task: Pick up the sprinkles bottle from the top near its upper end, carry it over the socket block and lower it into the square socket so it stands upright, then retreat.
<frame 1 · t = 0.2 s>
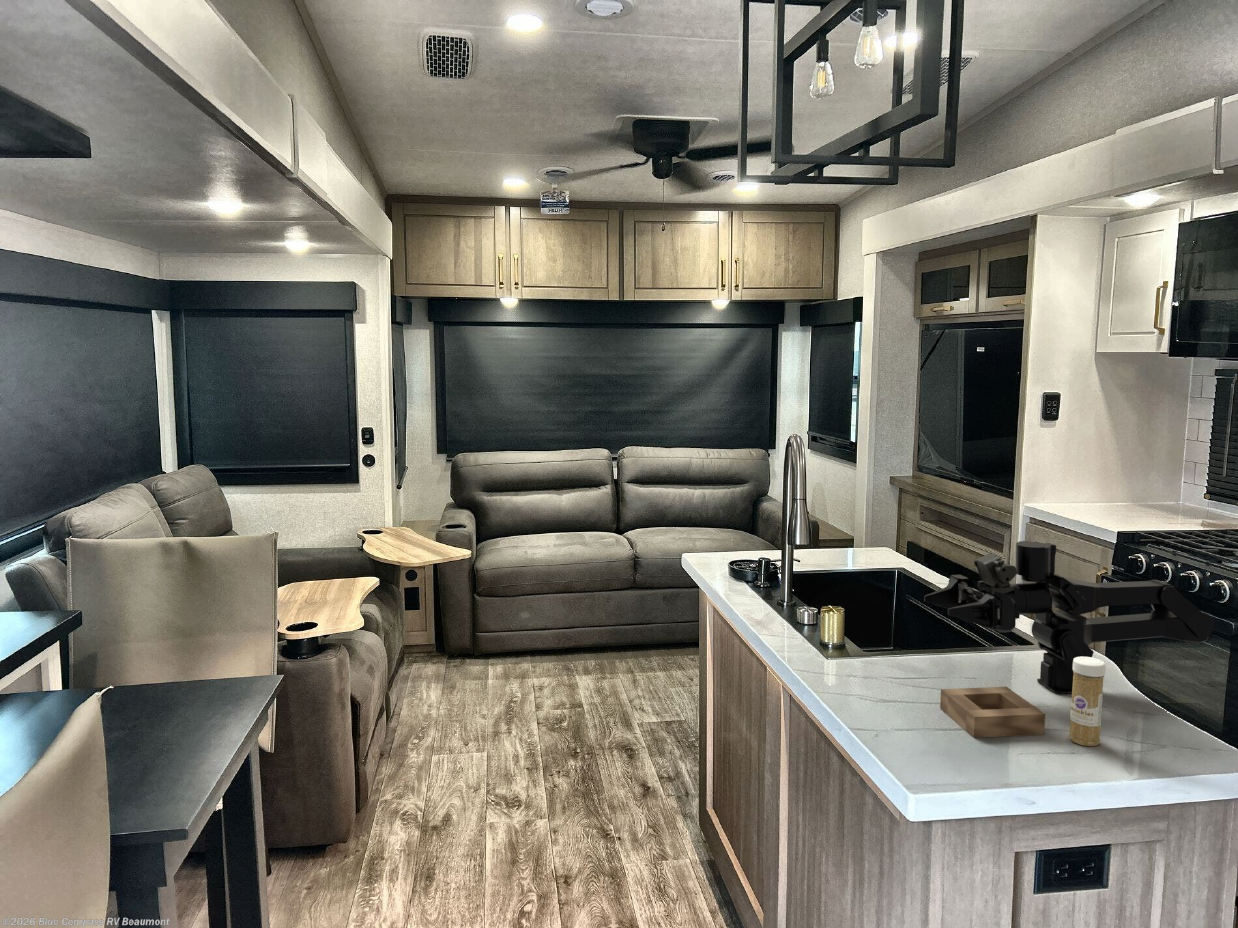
hand: (935, 605, 157), 17 cm above the counter, tool horizontal, fingers open, 9 cm apart
sprinkles bottle: (1084, 742, 139), on the counter
socket block: (990, 720, 147), on the counter
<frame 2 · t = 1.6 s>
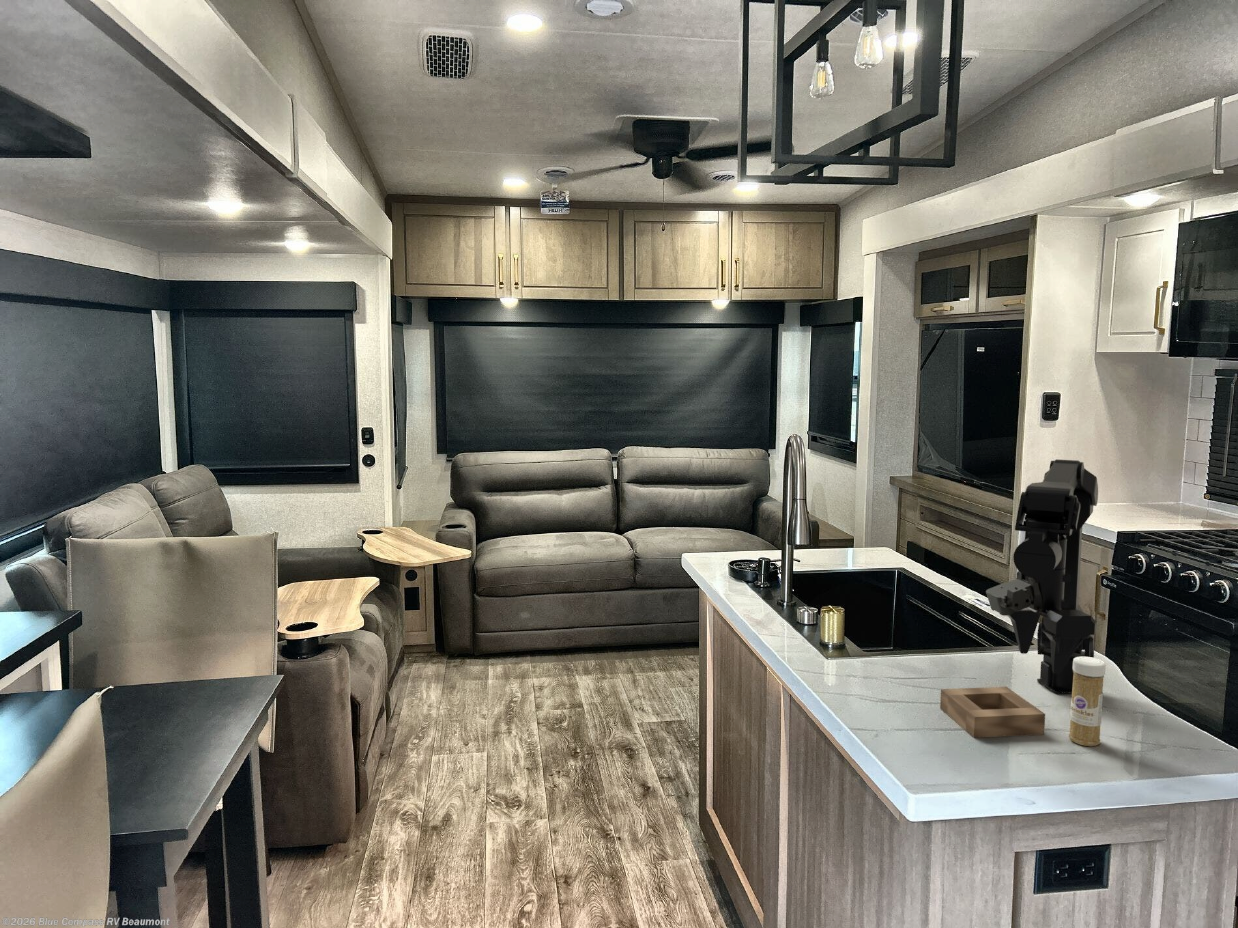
hand: (1039, 662, 137), 13 cm above the counter, tool pointing down, fingers open, 9 cm apart
nothing on the counter moved.
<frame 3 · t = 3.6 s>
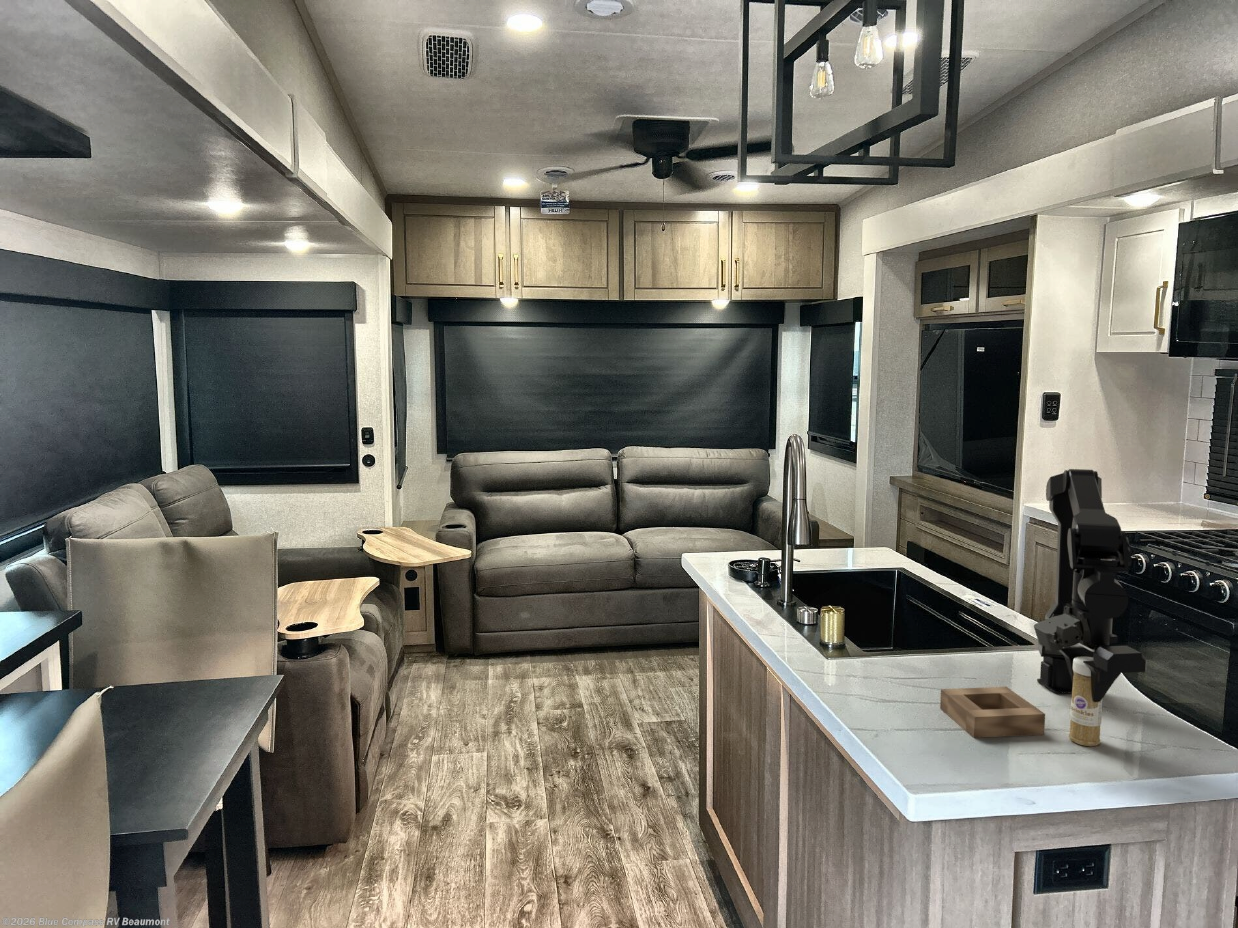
hand: (1087, 695, 138), 8 cm above the counter, tool pointing down, fingers closed on sprinkles bottle, 4 cm apart
sprinkles bottle: (1084, 742, 139), on the counter, touching gripper
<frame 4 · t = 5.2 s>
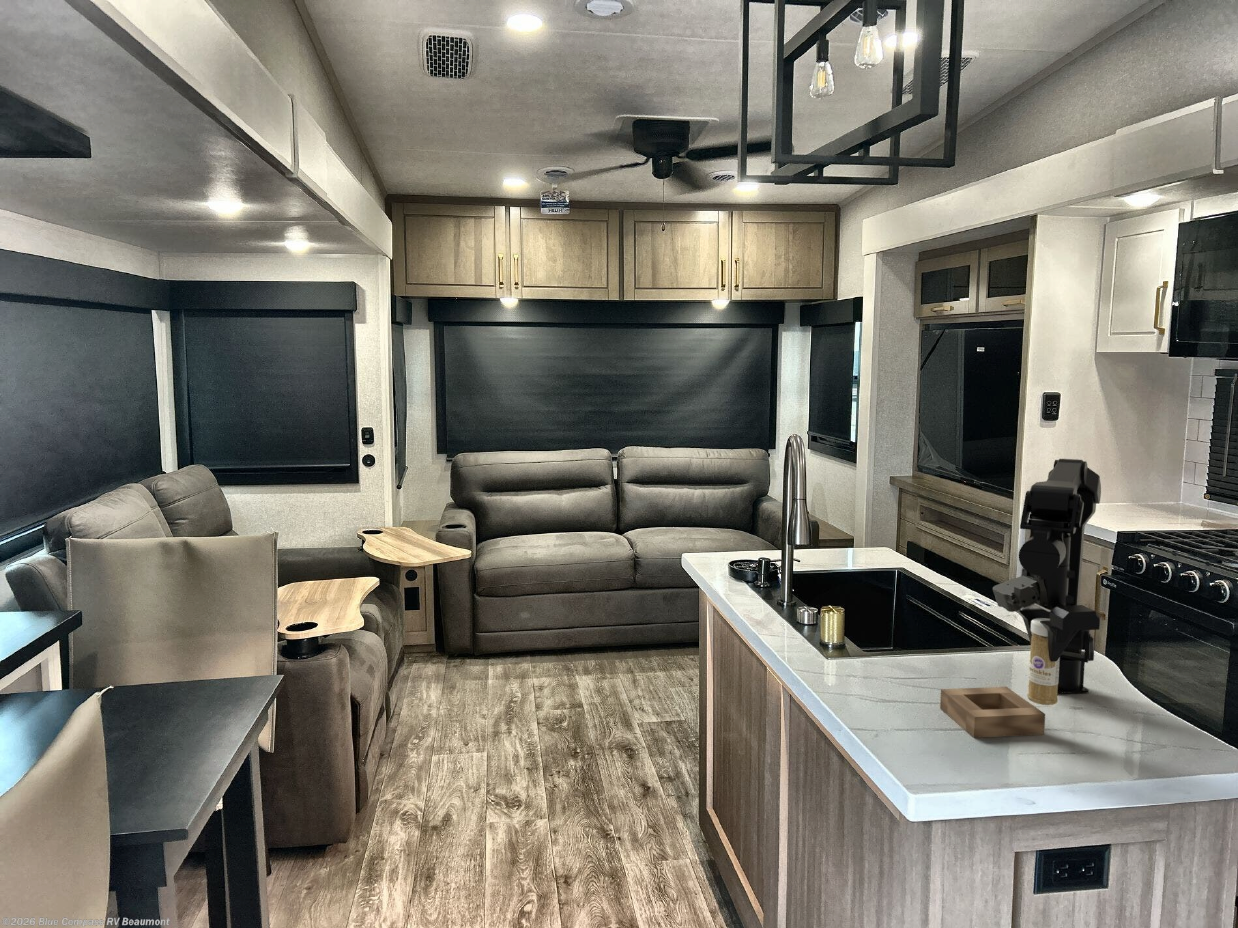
hand: (1044, 656, 141), 13 cm above the counter, tool pointing down, fingers closed on sprinkles bottle, 4 cm apart
sprinkles bottle: (1042, 701, 142), point 5 cm above the counter, touching gripper
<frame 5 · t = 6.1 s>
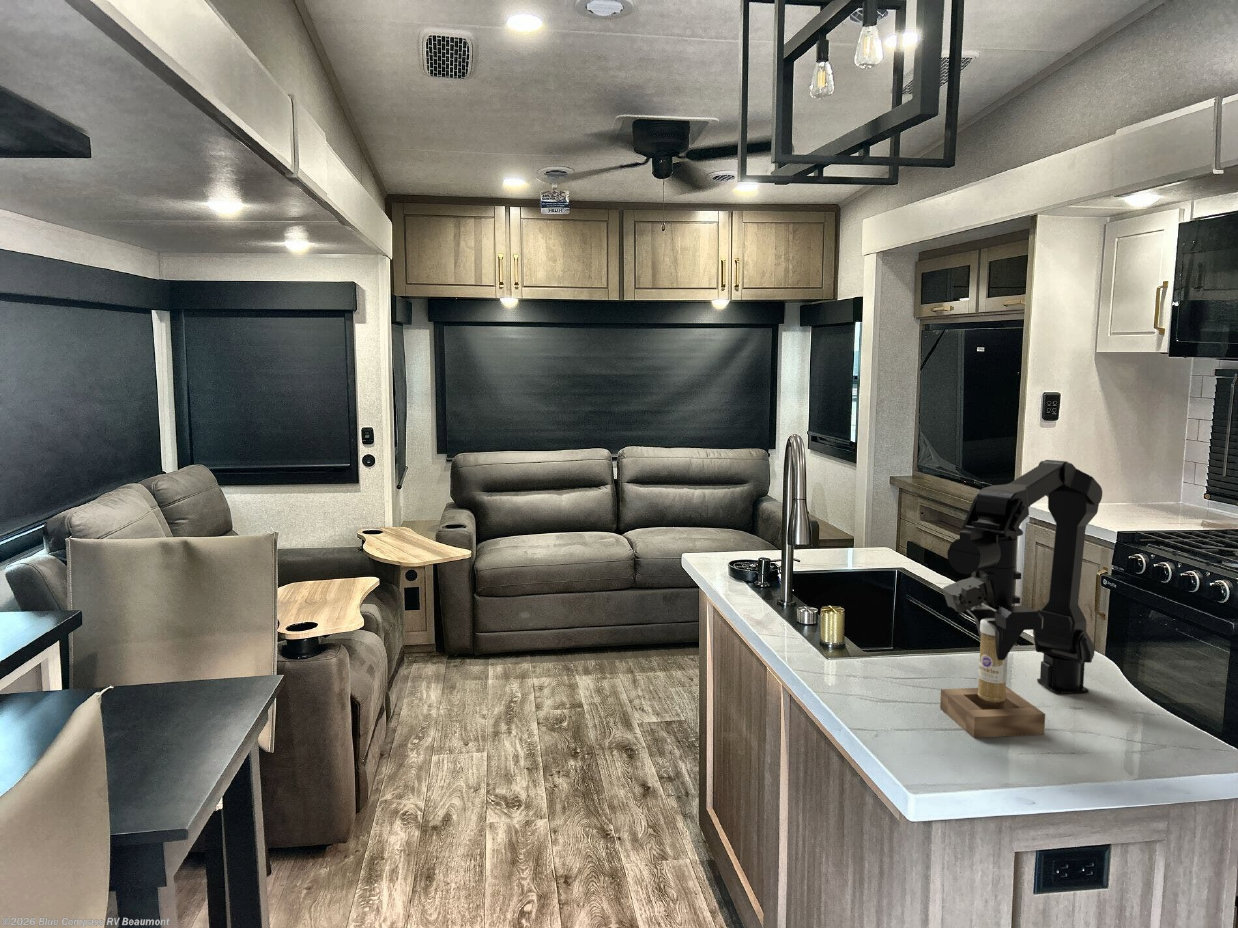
hand: (993, 654, 145), 12 cm above the counter, tool pointing down, fingers closed on sprinkles bottle, 4 cm apart
sprinkles bottle: (991, 698, 146), point 4 cm above the counter, touching gripper
when the fingers open (9 cm above the counter, at t = 6.8 s): sprinkles bottle drops 1 cm, resting in socket block.
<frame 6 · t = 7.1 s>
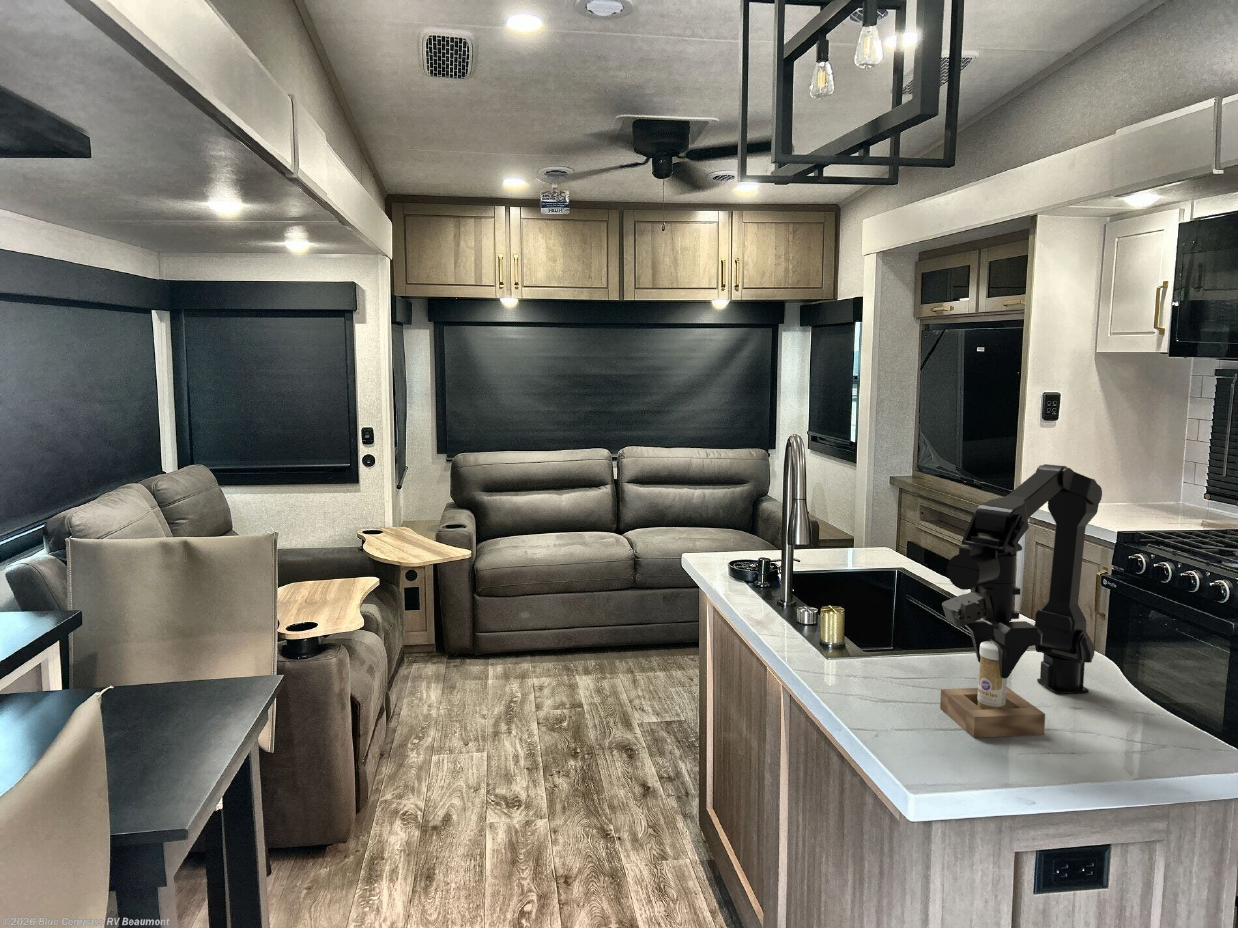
hand: (992, 669, 146), 9 cm above the counter, tool pointing down, fingers open, 7 cm apart
sprinkles bottle: (990, 721, 147), resting in socket block
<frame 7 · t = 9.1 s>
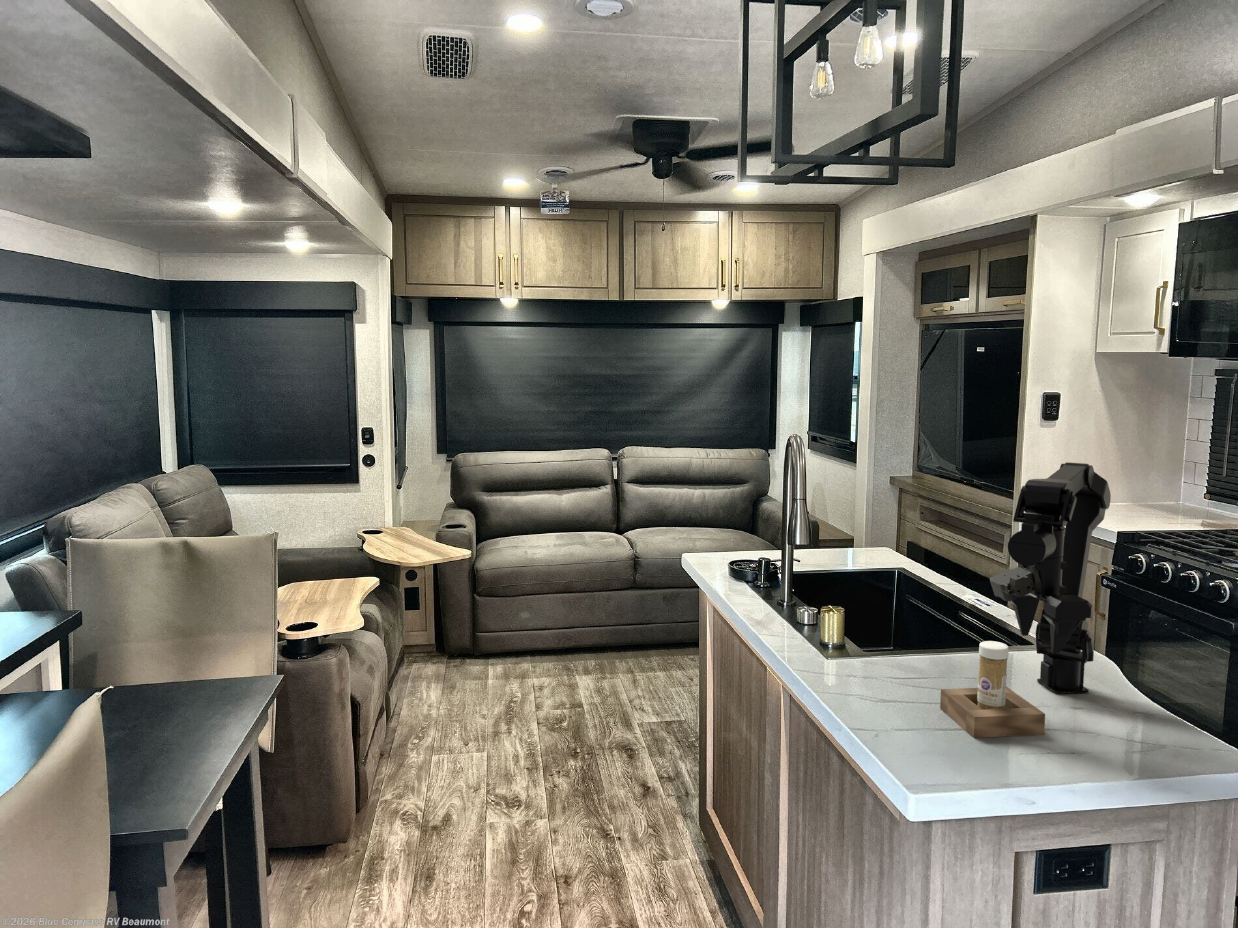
hand: (1039, 643, 147), 13 cm above the counter, tool pointing down, fingers open, 9 cm apart
nothing on the counter moved.
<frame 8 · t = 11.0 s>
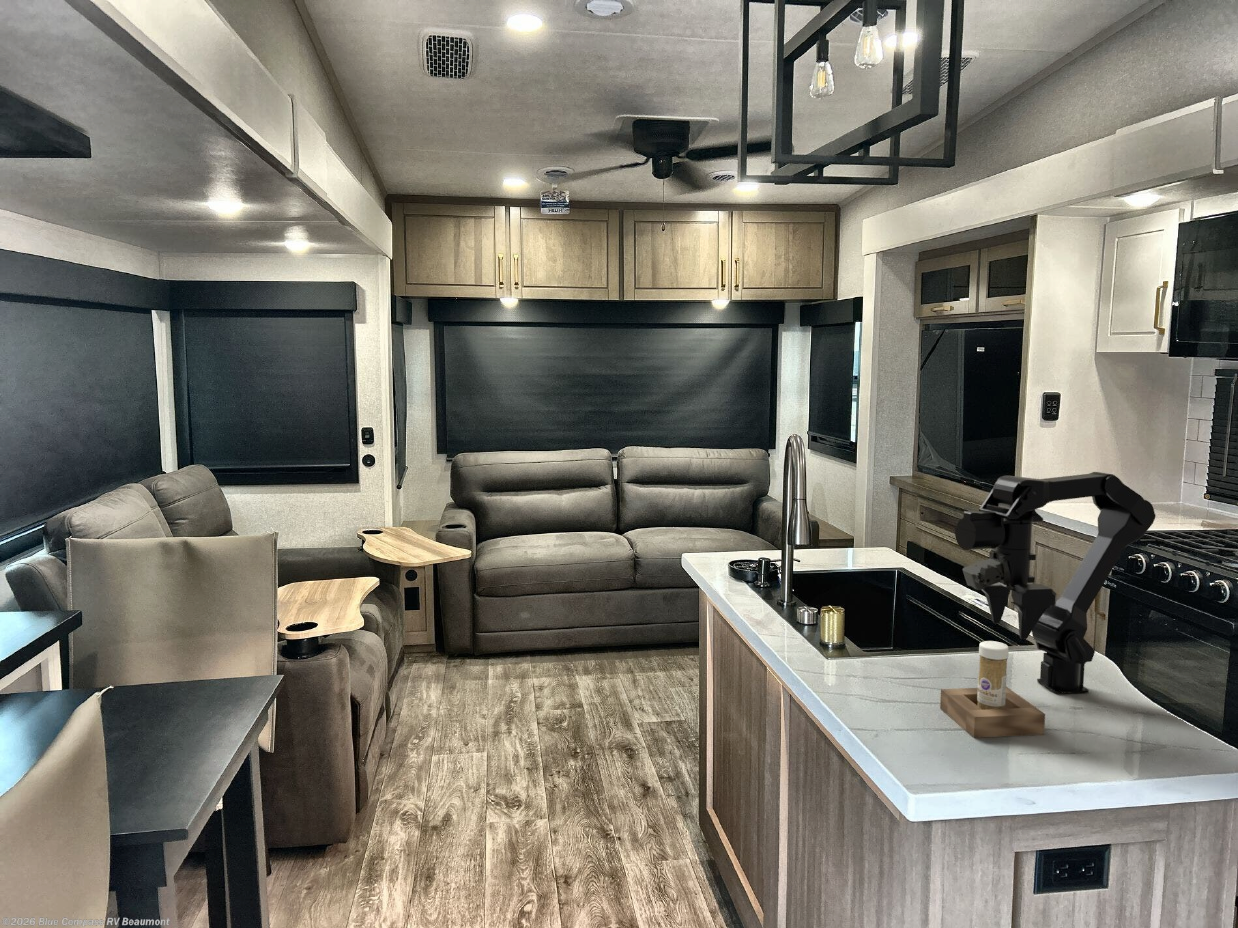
hand: (1009, 630, 157), 12 cm above the counter, tool pointing down, fingers open, 9 cm apart
nothing on the counter moved.
at the end: sprinkles bottle 0.1 cm off-centre on the socket block, point 0.0 cm above the socket block's base; sprinkles bottle tilted 0°; the gripper is holding nothing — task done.
